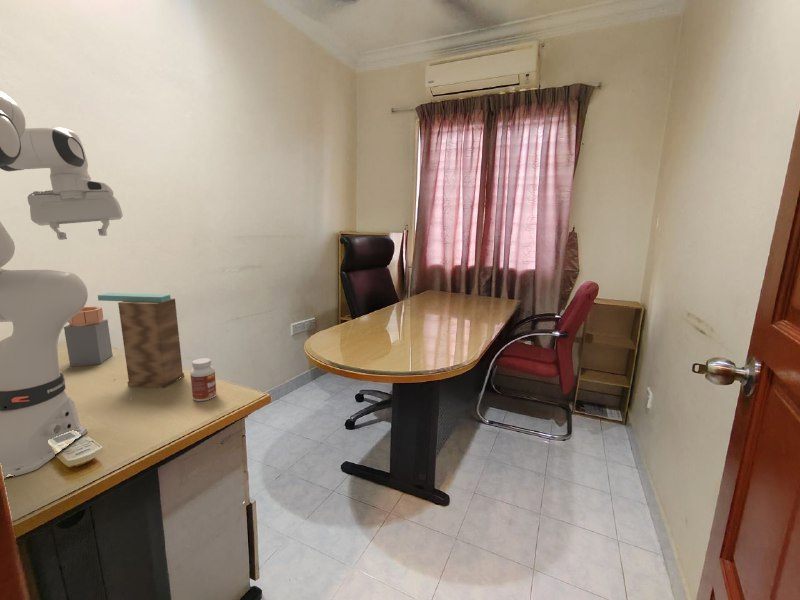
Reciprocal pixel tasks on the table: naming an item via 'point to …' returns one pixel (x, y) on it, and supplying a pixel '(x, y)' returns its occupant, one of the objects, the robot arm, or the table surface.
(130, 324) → the walnut shelf
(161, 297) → the lid slat
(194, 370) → the pill bottle
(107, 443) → the table surface
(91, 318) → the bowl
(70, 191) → the robot arm
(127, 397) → the table surface
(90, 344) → the riser
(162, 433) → the table surface
